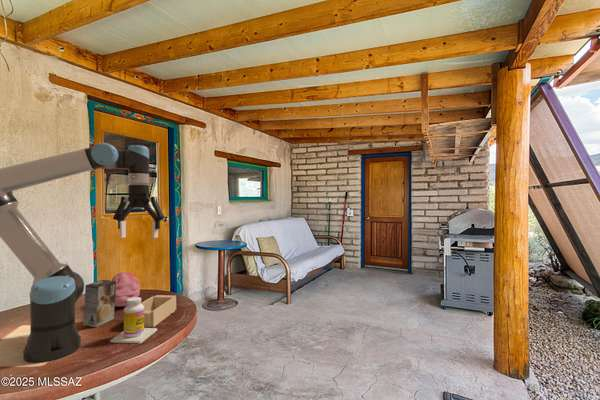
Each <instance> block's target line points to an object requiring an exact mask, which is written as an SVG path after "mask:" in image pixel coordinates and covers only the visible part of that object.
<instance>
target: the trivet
mask: <svg viewBox="0 0 600 400" xmlns="http://www.w3.org/2000/svg"><path fill="white" fill-rule="evenodd" d="M156 331H158V327H156V328H155V327H144V332H143V333H142V334H141V335H139V336H135V337H126V336H124V330H123V331H122V332H121V333H119V334H117V335H116V336H115V337H113V338H111V339H110V343H116V344H117V343H119V344H120V343H121V344H142V343H143V342H144V341H146V340H147V339H148V338H150V337H151V336H152V335H153V334H154V333H156Z"/></svg>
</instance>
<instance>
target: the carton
mask: <svg viewBox="0 0 600 400" xmlns="http://www.w3.org/2000/svg"><path fill="white" fill-rule="evenodd" d="M141 304H142V305H143V306H144V328H155V327H156V326H157V325H159V324H160V323H161V322H162V321H164V320H165V319H167V318H168V317H169V316H171V313H172V314H173V313H174V312H176V311H177V295H166V294H165V295H164V294H157V295H154V296H150V297H149V298H148V299H147V298H146V299H145V300H144V301H141ZM175 310H176V311H175Z"/></svg>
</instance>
